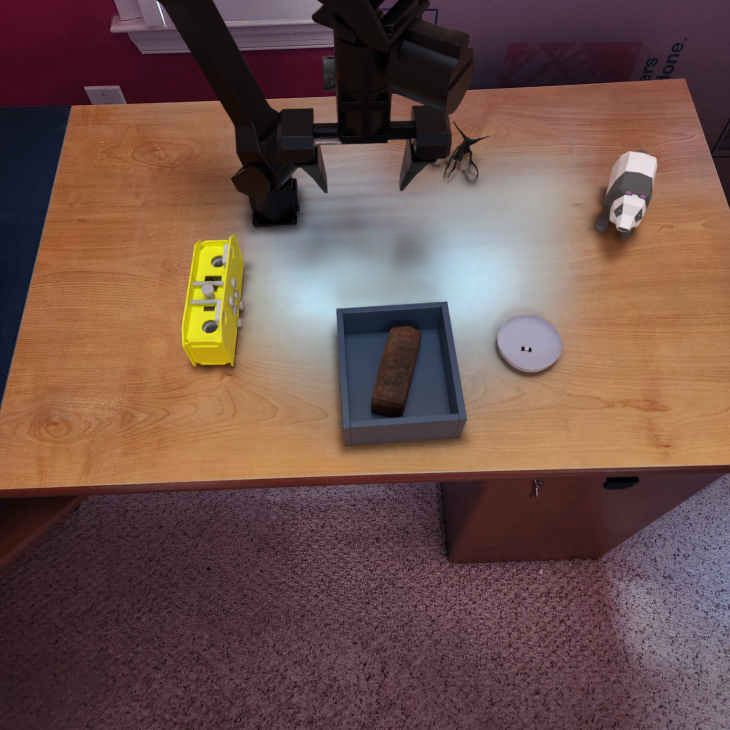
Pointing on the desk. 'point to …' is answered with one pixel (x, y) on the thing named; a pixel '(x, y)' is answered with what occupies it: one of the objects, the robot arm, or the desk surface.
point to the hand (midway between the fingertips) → (363, 189)
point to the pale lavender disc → (529, 343)
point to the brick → (396, 371)
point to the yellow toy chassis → (213, 302)
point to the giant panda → (628, 192)
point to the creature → (462, 152)
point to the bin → (429, 381)
